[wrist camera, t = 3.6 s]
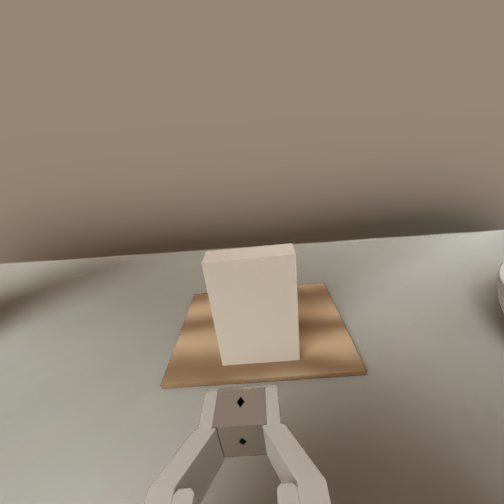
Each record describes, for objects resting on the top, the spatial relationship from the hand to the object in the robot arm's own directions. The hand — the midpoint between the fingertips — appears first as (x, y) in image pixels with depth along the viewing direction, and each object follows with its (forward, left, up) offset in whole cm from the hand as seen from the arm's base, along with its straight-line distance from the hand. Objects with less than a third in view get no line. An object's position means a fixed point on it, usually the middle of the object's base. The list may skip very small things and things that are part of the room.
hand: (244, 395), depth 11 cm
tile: (-11, +7, -11) cm, 17 cm away
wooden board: (-15, +10, -12) cm, 22 cm away
